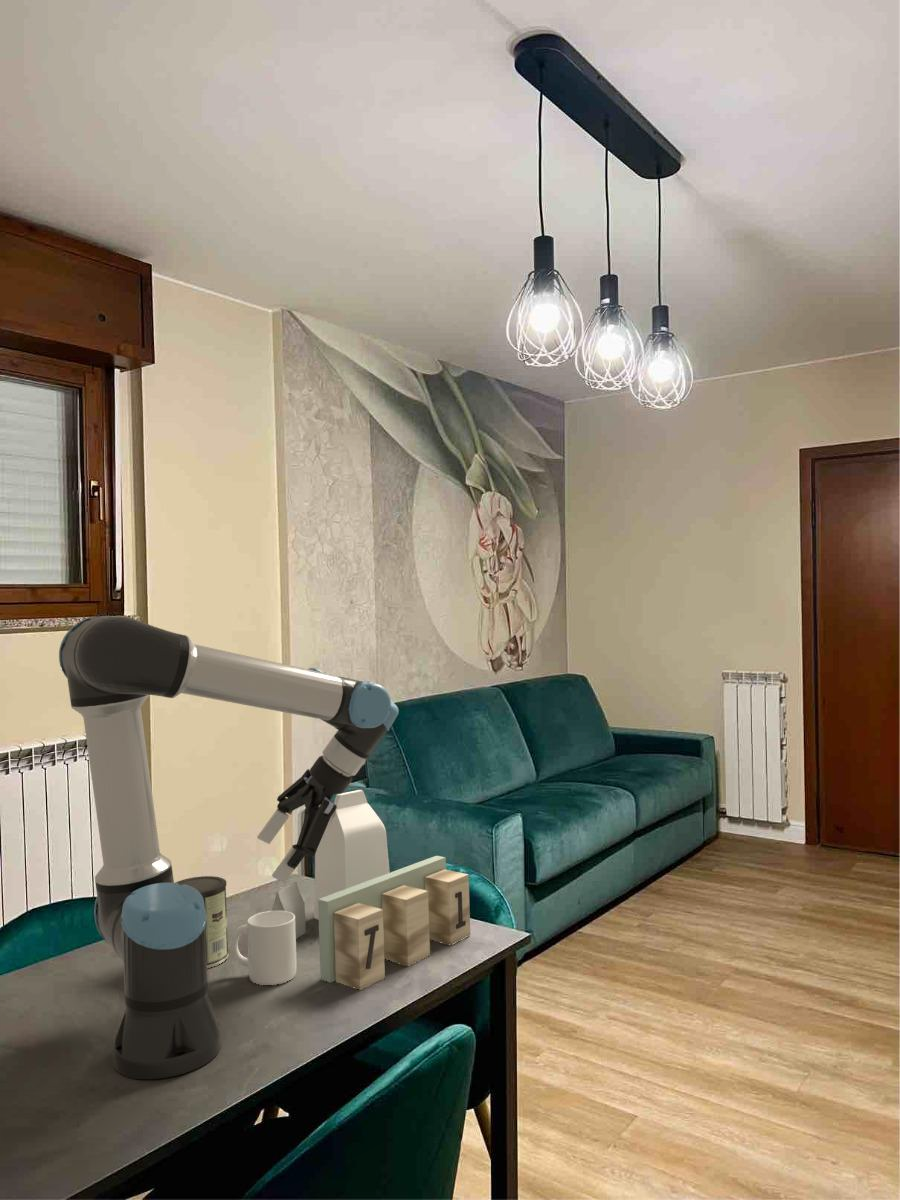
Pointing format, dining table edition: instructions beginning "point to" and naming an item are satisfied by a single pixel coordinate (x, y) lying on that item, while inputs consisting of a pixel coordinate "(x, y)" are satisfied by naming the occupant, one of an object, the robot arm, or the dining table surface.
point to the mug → (268, 947)
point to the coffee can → (213, 916)
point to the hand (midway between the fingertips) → (270, 859)
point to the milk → (350, 847)
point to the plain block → (406, 925)
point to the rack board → (366, 903)
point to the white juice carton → (292, 906)
